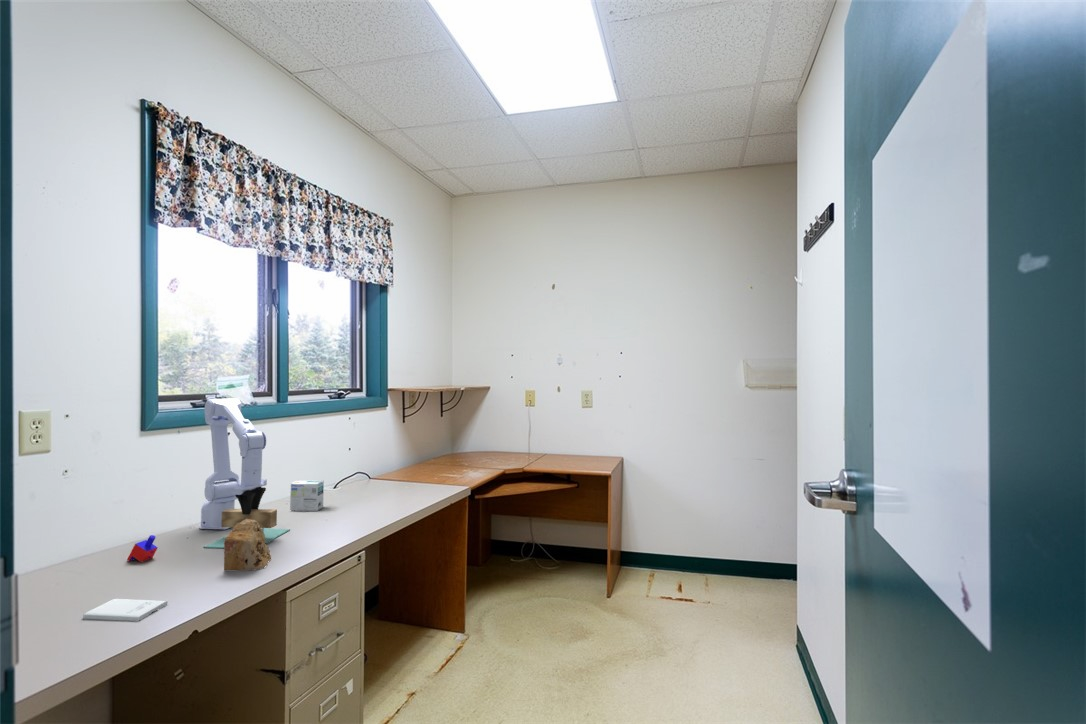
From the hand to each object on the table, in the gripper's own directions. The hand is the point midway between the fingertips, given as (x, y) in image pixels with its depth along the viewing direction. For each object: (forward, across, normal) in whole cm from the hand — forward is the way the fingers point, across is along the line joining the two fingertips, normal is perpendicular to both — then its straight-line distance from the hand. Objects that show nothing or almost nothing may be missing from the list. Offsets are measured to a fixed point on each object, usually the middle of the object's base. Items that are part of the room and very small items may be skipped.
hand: (250, 512), depth 169 cm
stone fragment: (+9, -20, -14) cm, 26 cm away
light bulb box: (+9, +38, 0) cm, 39 cm away
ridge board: (+8, 0, 0) cm, 8 cm away
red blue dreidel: (+9, -21, +18) cm, 29 cm away
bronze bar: (+4, 0, 0) cm, 4 cm away
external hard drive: (+9, -52, -4) cm, 53 cm away
